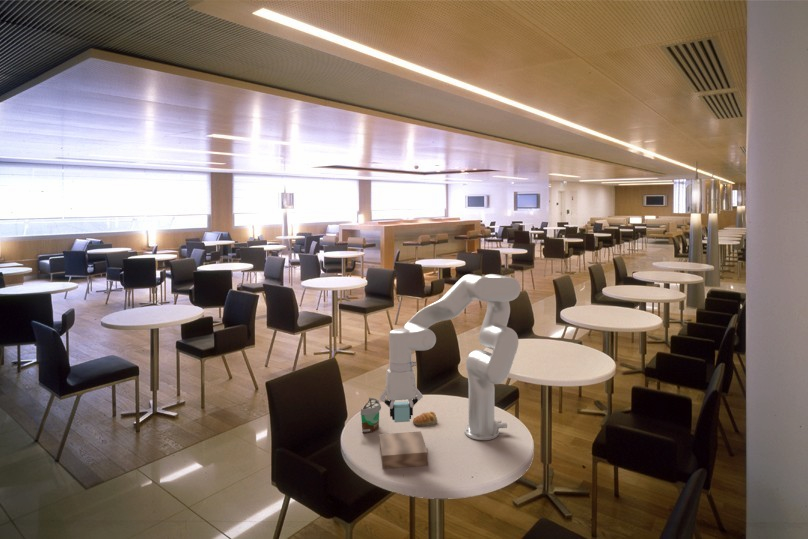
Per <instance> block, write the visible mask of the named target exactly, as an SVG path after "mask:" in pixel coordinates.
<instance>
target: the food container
mask: <svg viewBox="0 0 808 539" xmlns="http://www.w3.org/2000/svg"><path fill="white" fill-rule="evenodd" d="M381 409H382V404H381V402H380V399H379V400H378V398H375V397H368V401H367V402H366V403H365V405H364V406H363V408H361V409H360V417H361V430H362V432H361V433H362V434H371V433H374V432H377V431H378V430H379V426H380V412H381Z"/></svg>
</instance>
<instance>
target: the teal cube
mask: <svg viewBox="0 0 808 539" xmlns="http://www.w3.org/2000/svg"><path fill="white" fill-rule="evenodd" d="M410 421H411V419H410V408H409V401H408V400H406V401H395V402H394V420H393V422H394V423H408V422H409V423H410Z"/></svg>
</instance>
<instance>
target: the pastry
mask: <svg viewBox="0 0 808 539" xmlns="http://www.w3.org/2000/svg"><path fill="white" fill-rule="evenodd" d="M437 423H438V418H437V416H436V413H435V412H434V411H429V412H422V413H421V414H420V415H417V416H416V417H414V418H413V419H412V424H413V425H415V426H419V427H420V426H421V427H422V426H423V427H424V426H432V425H436V424H437Z"/></svg>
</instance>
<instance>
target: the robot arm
mask: <svg viewBox="0 0 808 539" xmlns="http://www.w3.org/2000/svg"><path fill="white" fill-rule="evenodd" d="M520 294H521V284H520V282H519V280H517V279H516V278H515V277H512V276H507V275H503V274H502V275H501V274H495V273H489V274H486V275H484V276H483V275H478V274H473V273H468V274H465V275H463V276H462V277H461V278H459V279H458V281H456V282H455V284H453V285H452V287H451V288H449V290H448V291H446V293H444V295H442V297H440V298H439V300H437V301H435V302H433V303H431V304H429V305H427V306H425V307H422V309H420V310H419V311H418V312H416V313H415V314H414V315H413V316H412V317H411V318H410V319H409V320H408V321H407V322H406V323H405V324H404V326H403V328H393V329H392V330H390V331H389V333H388V343H389V344H388V352H389V354H388V356H389V358H388V360H389V361H388V362H389V363H388V364H389V367H388V368H387V370H386V375H385V389H384V390H383V392H382V393H381V394H380V396H379V397H378V398H379V401H381V402H382V403H384V404H385V405H386V406H387V407H388V408H389V417H390V418H391V419H392V421H394V402H396V401H405V400H406V401H408V404H409V408H410V420H411V419H412V416H413V415H414V410H413V409H414V406H415V405H416V404H417V403H418V401H420V400H421V399H422V398H423V393H422V392H420V390H419V389H418V388H417V381H416V375H415V369H414V367H417V361H413V359H412V357H413V354H412V352H414V351H419V352H421V351H428V350H430V349H432V348H433V347H434V346H435V344H436V342H437V337H436V334H435V333H434V332H433V330H431V329H430V327H431V326H433V325H436V323H439V322H443V321H449V320H453V319H455V318H457V317H459V316H460V315H461V313H462V312H463V311H464V310H466V308H467V307H468V306H469V305H470V304H471V303H472V302H473V301H474V300H475V301H479V302H486V303H487V306H486V312H485V316H484V317H483V321H482V324H481V327H480V329H479V330H480V331H479V332H478V341H479V343H480V345H482V346H483V347H485V348H487V349H490V350H492V352H488V351H486V350H484V349H473V350H472V351H470V352H469V353H468V355H467V356H466V360H465V368H466V374H467V375H466V376H467V379H468V380H467V382H468V383H467V384H468V424H467V425H466V426H465V427H464V433H465V435H466V436H467V437H468V438H470V439H473V440H476V441H477V440H478V441H489V440H493V439H495V438H497V437H498V436H499V430H500V429H507V428H508V423H507V422H503V421H502V420H497V421H496V420H495V389H496V388H495V385H500V384H503V382H505V381H506V379H507V378H508V376H509V374H510V373H511V372H510V371H511V368H512V366H513V363H514V360H515V357H516V354H517V350H518V348H519V337H518V336H519V335H518V334H517V332H516V331H515V330H514V329H513V328H511V327H508V323H509V318H510V314H511V305H510V302H511V301H514V300H515V299H518V297H519V296H520Z"/></svg>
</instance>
